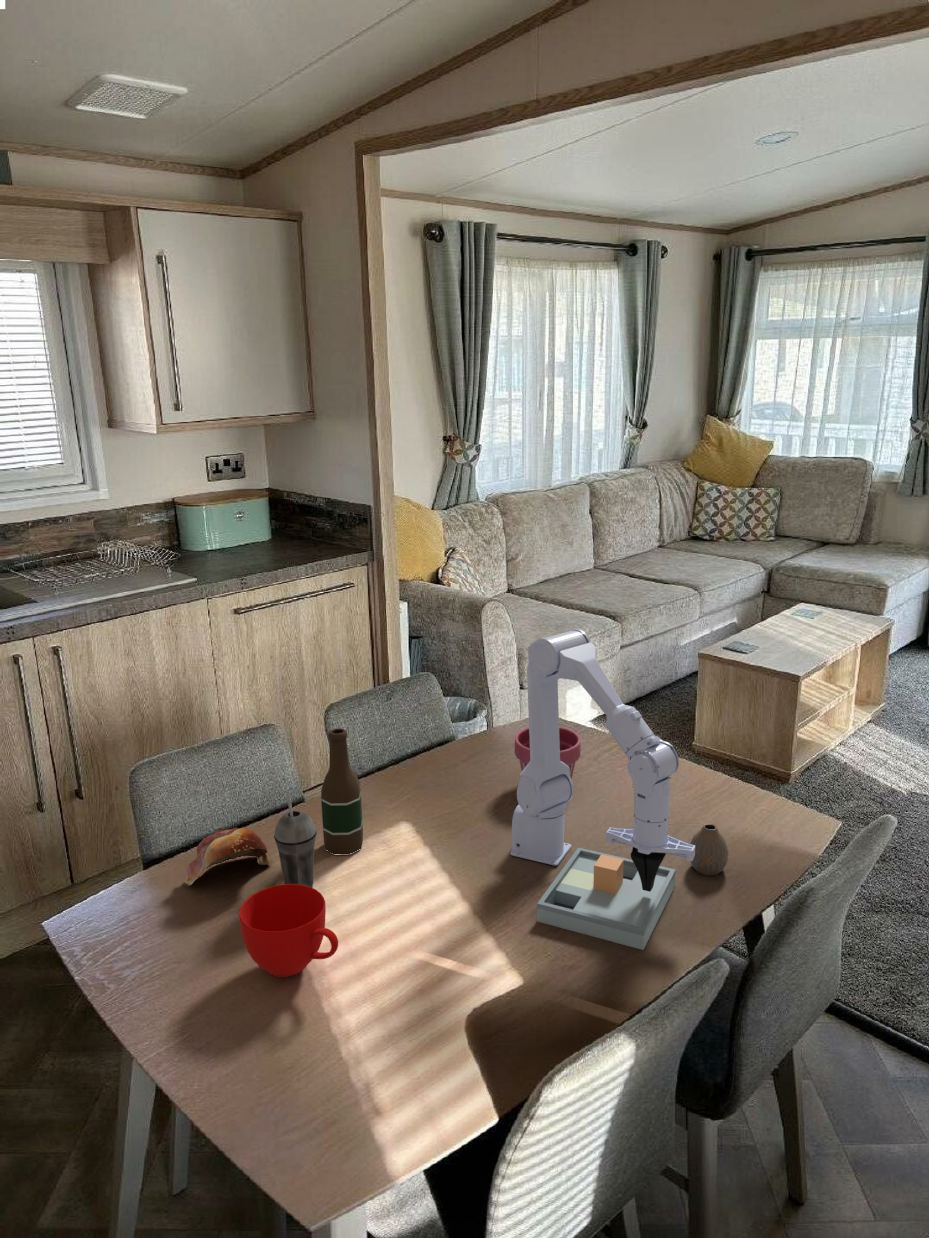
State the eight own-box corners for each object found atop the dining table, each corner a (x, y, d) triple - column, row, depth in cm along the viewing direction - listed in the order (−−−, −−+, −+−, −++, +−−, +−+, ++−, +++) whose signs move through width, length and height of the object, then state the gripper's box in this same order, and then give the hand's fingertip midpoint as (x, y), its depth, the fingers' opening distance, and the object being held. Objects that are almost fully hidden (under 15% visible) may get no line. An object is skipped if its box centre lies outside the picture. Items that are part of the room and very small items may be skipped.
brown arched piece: (263, 850, 174) (259, 803, 171) (283, 882, 163) (279, 832, 160) (179, 872, 167) (173, 824, 164) (194, 907, 156) (188, 855, 153)
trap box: (537, 921, 150) (537, 903, 149) (578, 863, 167) (578, 847, 166) (643, 950, 142) (644, 931, 141) (674, 886, 159) (675, 869, 159)
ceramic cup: (309, 1011, 130) (305, 951, 127) (226, 972, 139) (220, 915, 136) (365, 962, 140) (362, 905, 138) (284, 929, 149) (280, 875, 146)
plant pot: (583, 807, 189) (584, 750, 185) (516, 808, 189) (515, 751, 186) (576, 777, 203) (577, 724, 199) (513, 778, 203) (513, 725, 199)
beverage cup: (328, 887, 161) (322, 784, 156) (305, 908, 155) (297, 802, 149) (294, 878, 164) (287, 777, 159) (270, 899, 158) (261, 794, 152)
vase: (728, 882, 161) (731, 837, 158) (688, 878, 162) (691, 834, 160) (725, 861, 167) (728, 819, 165) (687, 858, 169) (689, 816, 166)
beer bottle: (316, 852, 173) (308, 735, 166) (336, 833, 180) (329, 720, 173) (352, 859, 170) (345, 741, 164) (371, 840, 177) (365, 726, 170)
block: (593, 888, 155) (593, 865, 154) (600, 877, 158) (601, 854, 157) (615, 894, 153) (616, 870, 152) (622, 882, 156) (623, 859, 155)
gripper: (601, 816, 148) (599, 889, 152) (689, 834, 142) (685, 910, 145) (614, 798, 154) (611, 869, 158) (699, 815, 148) (695, 888, 151)
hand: (647, 887), depth 152 cm, fingers closed
